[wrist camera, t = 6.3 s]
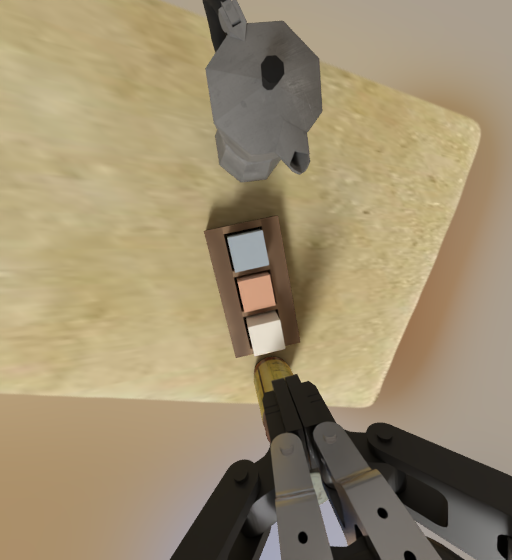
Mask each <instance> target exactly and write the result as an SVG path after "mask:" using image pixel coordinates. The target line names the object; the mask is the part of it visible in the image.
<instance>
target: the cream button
mask: <svg viewBox="0 0 512 560" xmlns="http://www.w3.org/2000/svg"><path fill="white" fill-rule="evenodd" d="M246 320H247V325H248V330H249V334H250V339H251V343H252V347H253V352H254V356H259V355H263V354H267V353H271V352H275V351H279V350H283V349H286V348H285V343H284V338H283V333H282V328H281V322H280V319H279V317H278V315H277V313H276V312H275V310H271V311H267V312H262V313H258V314H254V315H250V316H246Z"/></svg>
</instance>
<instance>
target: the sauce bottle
mask: <svg viewBox="0 0 512 560" xmlns="http://www.w3.org/2000/svg"><path fill="white" fill-rule="evenodd" d="M291 375H293V373H292V371H291V369H290V367H289V366H288V365H287V364H286V362H285V361H284V360H283V359H280V358H278V357H267V358H265V359H263V360H262V361H260V362H259V363H258V364H257V365H256V367H255V370H254V384H255V388H256V393H257V397H258V402H259V406H260V411H261V415H262V420H263V425H264V427H265V430H266V436H267V439H268V441H269V442H271V441H270V436H269V431H268V426H267V421H266V416H265V412H264V407H263V402H262V399H263V396H264V393H265V392H269V391H273V387H272V383H271V381H272V380H276V379H280V378H284V377H287V376H291ZM284 380H285V378H284ZM309 463H310V462H309ZM310 468H311V470H309V472H310V476H311V479H312V483H313V487H314V490H315V492H316V495H317V499H318V503H319V505H320V504H323V503H324V502H325V501H327V500H328V497H327V495H326V493H325V491H324V488H323V486H322V481H321V476H320V473H319V470H318V468H314V469H312V467H311V464H310Z"/></svg>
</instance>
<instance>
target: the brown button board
mask: <svg viewBox="0 0 512 560" xmlns="http://www.w3.org/2000/svg"><path fill="white" fill-rule="evenodd" d="M255 227H259V228H260V230H263V235H264V240H265V245H266V250H267V256H268V261H269V265H267V266H263V267H258V268H254V269H250V270H245V271H241V272H236V273H235V269H234V268H232V266H231V262H230V257H229V253H228V249H227V245H226V240H225V236H224V234H227V233H231V232H236V231H241V230H245V229H250V228H255ZM204 233H205V237H206V241H207V245H208V249H209V253H210V257H211V261H212V265H213V269H214V273H215V277H216V281H217V285H218V289H219V293H220V297H221V301H222V305H223V309H224V313H225V317H226V321H227V325H228V329H229V333H230V337H231V341H232V344H233V348H234V352H235V356H236V358H239V357H243V356H247V355H251V354H254V352H253V347H252V343H251V339H250V340H249V339H248V335H247V330H246V326H245V322H244V318H243V317H245V316H250V315H254V314H258V313H262V312H267V311H271V310H275V309H276V313H277V315H278V317H279V319H280V322H281V328H282V333H283V338H284V343H285V346H287V345H291V344H295V343H299V342H300V337H299V331H298V326H297V320H296V314H295V309H294V303H293V297H292V292H291V286H290V280H289V275H288V269H287V263H286V258H285V252H284V247H283V241H282V235H281V230H280V224H279V218H278V216H272V217H267V218H262V219H258V220H253V221H248V222H243V223H239V224H234V225H229V226H225V227H220V228H215V229H210V230H206V231H204ZM264 270H268V273H269V274H270V278H271V283H272V288H273V294H274V299H275V304H276V305H275V306H271V307H267V308H262V309H258V310H254V311H250V312H244V308H243V305H240V300H239V296H238V292H237V288H236V283H235V279H234V277H238V276H242V275H247V274H251V273H255V272H260V271H264Z"/></svg>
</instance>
